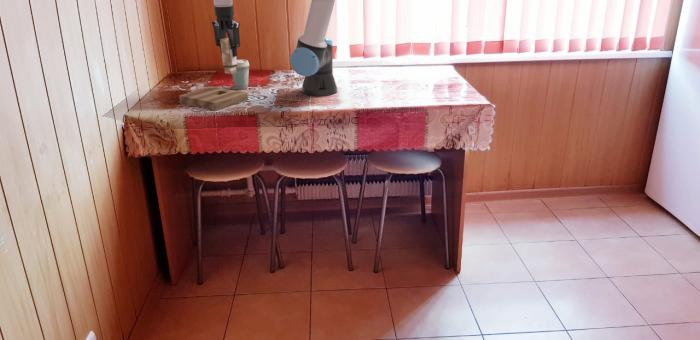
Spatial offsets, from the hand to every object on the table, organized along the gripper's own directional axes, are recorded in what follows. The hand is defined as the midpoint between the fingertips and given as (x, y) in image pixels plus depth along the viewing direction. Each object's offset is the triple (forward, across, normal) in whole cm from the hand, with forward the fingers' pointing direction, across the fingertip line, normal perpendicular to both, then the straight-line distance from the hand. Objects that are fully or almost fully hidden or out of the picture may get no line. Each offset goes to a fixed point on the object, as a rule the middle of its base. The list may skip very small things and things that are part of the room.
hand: (230, 63), depth 215 cm
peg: (+4, 0, 0) cm, 4 cm away
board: (+13, -2, +13) cm, 18 cm away
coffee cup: (+13, +4, -9) cm, 16 cm away
